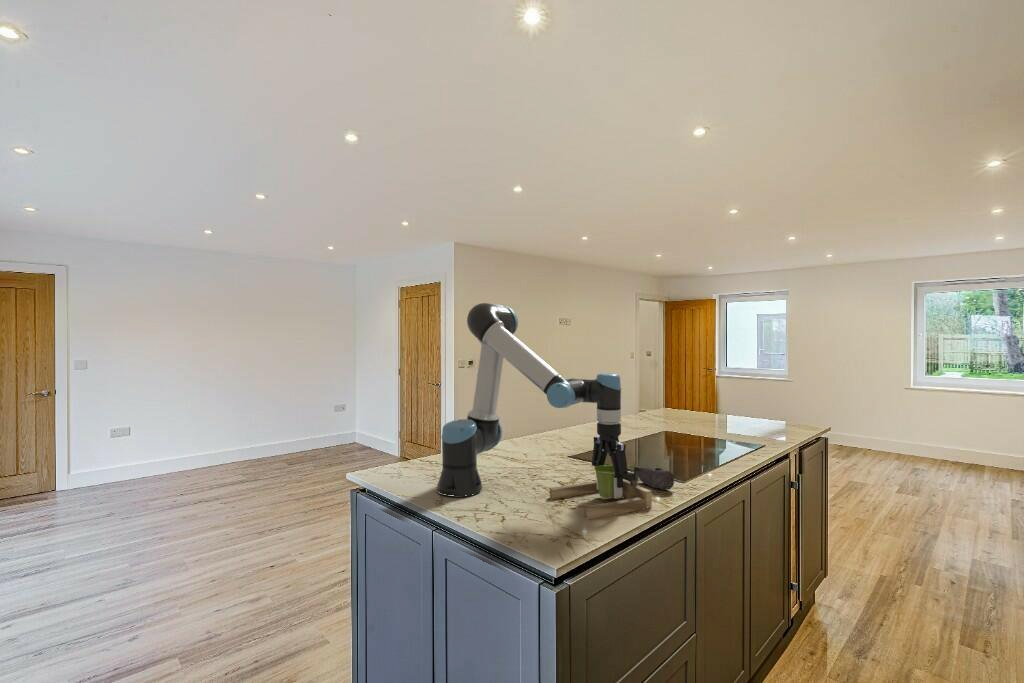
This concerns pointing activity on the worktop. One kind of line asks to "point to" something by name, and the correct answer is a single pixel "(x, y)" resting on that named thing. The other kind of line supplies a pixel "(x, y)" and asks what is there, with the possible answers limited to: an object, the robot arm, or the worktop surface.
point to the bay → (630, 491)
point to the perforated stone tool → (656, 477)
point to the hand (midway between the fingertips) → (609, 493)
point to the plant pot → (605, 480)
